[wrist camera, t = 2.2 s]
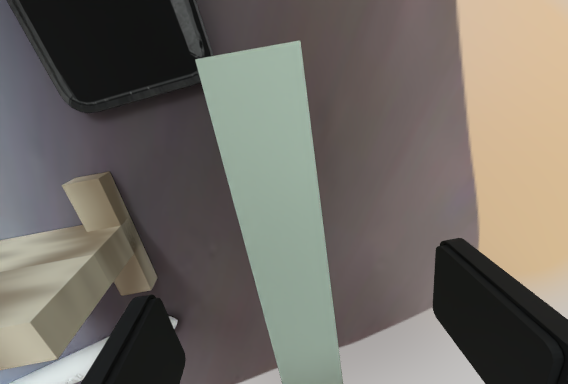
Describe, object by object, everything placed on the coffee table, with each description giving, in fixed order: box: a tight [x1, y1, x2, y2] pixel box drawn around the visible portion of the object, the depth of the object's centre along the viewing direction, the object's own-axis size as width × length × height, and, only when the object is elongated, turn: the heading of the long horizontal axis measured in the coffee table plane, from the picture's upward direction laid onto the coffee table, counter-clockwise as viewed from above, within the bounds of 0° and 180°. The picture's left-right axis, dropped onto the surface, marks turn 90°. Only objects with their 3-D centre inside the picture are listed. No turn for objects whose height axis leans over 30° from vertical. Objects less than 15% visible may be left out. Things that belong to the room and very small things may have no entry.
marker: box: [9, 316, 178, 384], centre depth 20 cm, size 18×2×2 cm, turn 116°
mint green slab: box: [195, 40, 343, 384], centre depth 13 cm, size 18×2×10 cm, turn 9°
